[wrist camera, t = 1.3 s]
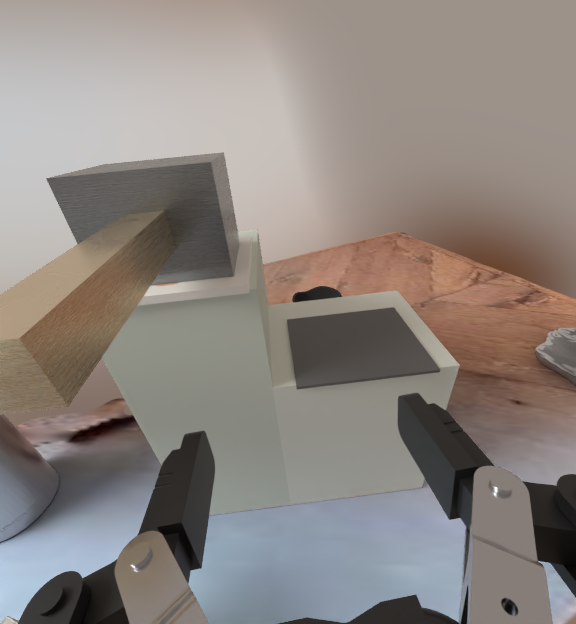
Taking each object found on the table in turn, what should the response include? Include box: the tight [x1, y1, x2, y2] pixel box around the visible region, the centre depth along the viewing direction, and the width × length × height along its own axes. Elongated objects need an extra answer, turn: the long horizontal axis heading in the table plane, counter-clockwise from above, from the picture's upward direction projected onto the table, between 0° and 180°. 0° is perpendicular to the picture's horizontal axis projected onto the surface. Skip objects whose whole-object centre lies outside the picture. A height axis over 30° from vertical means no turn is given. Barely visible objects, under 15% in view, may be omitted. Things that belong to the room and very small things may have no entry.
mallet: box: [0, 153, 240, 415], centre depth 16 cm, size 20×9×7 cm, turn 5°
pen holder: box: [292, 286, 342, 303], centre depth 59 cm, size 9×9×10 cm
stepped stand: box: [102, 229, 460, 516], centre depth 33 cm, size 14×28×30 cm, turn 95°
